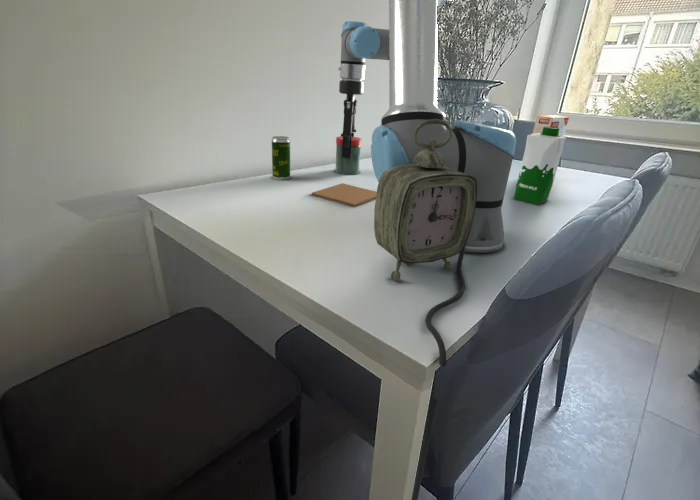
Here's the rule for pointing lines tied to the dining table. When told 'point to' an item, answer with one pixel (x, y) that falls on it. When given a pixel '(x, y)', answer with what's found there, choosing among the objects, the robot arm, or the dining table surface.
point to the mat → (346, 194)
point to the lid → (355, 142)
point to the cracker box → (551, 123)
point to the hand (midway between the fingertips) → (347, 154)
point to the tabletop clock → (424, 207)
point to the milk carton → (539, 165)
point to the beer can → (281, 157)
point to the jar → (348, 161)
